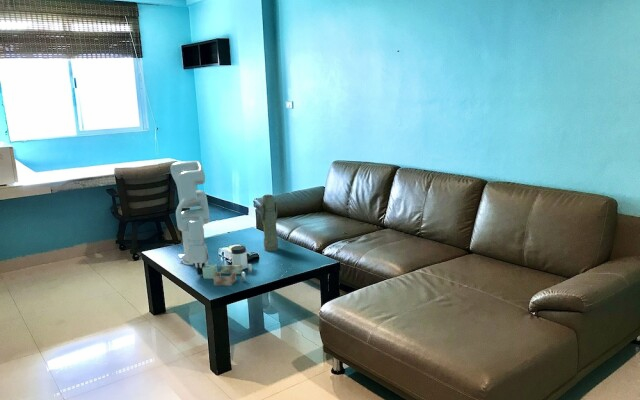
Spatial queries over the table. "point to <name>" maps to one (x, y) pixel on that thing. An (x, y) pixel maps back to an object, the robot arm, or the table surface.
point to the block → (209, 270)
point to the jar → (239, 256)
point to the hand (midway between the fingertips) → (200, 273)
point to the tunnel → (227, 270)
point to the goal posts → (248, 271)
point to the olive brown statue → (269, 222)
